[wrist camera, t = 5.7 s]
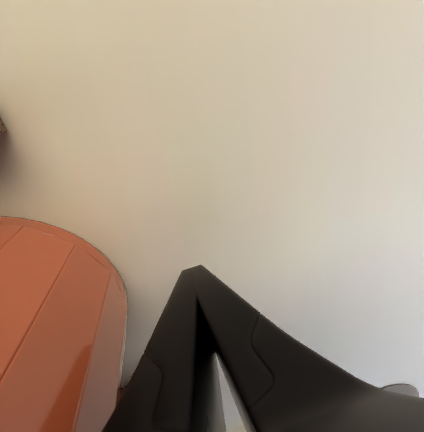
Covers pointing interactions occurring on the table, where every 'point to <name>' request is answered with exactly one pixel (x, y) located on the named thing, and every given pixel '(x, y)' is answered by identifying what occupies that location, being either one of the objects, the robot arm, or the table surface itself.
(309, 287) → the table surface
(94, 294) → the cup
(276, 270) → the table surface
